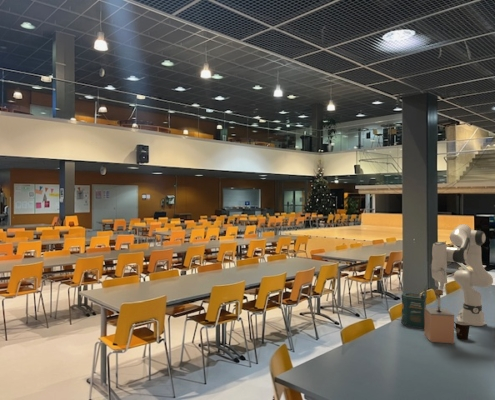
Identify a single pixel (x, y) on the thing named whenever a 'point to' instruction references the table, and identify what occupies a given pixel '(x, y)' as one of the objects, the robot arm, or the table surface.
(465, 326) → the coffee mug
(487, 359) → the table surface
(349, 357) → the table surface
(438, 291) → the plunger
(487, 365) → the table surface
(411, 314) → the donation box
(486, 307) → the table surface
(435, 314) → the brown block
